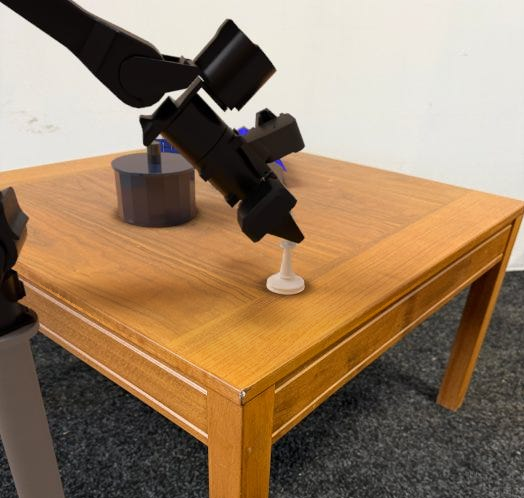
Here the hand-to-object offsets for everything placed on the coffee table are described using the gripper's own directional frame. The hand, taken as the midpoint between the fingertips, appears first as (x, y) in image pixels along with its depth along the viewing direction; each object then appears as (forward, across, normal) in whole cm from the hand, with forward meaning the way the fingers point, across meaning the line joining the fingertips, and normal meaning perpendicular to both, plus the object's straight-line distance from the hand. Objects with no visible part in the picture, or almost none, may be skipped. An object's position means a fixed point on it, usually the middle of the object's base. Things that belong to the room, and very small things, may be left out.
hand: (299, 237), depth 67 cm
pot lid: (-13, +30, +11) cm, 34 cm away
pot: (-7, +30, +16) cm, 35 cm away
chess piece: (+4, 0, +6) cm, 7 cm away
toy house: (+7, +54, +3) cm, 55 cm away
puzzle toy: (-4, +64, +14) cm, 66 cm away
